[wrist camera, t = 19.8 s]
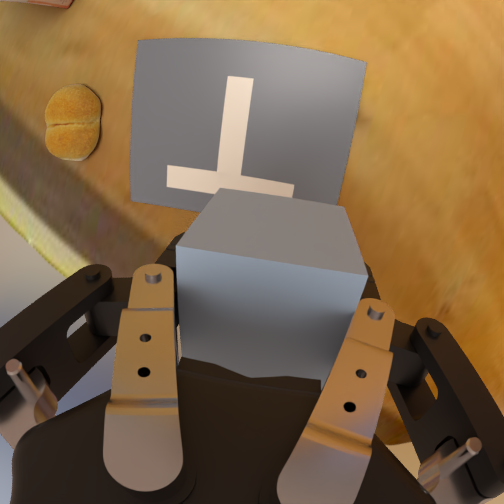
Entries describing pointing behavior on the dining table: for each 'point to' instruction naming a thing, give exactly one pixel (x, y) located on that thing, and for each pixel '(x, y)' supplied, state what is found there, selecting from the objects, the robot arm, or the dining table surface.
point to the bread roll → (72, 122)
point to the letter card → (240, 120)
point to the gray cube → (268, 284)
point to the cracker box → (46, 2)
